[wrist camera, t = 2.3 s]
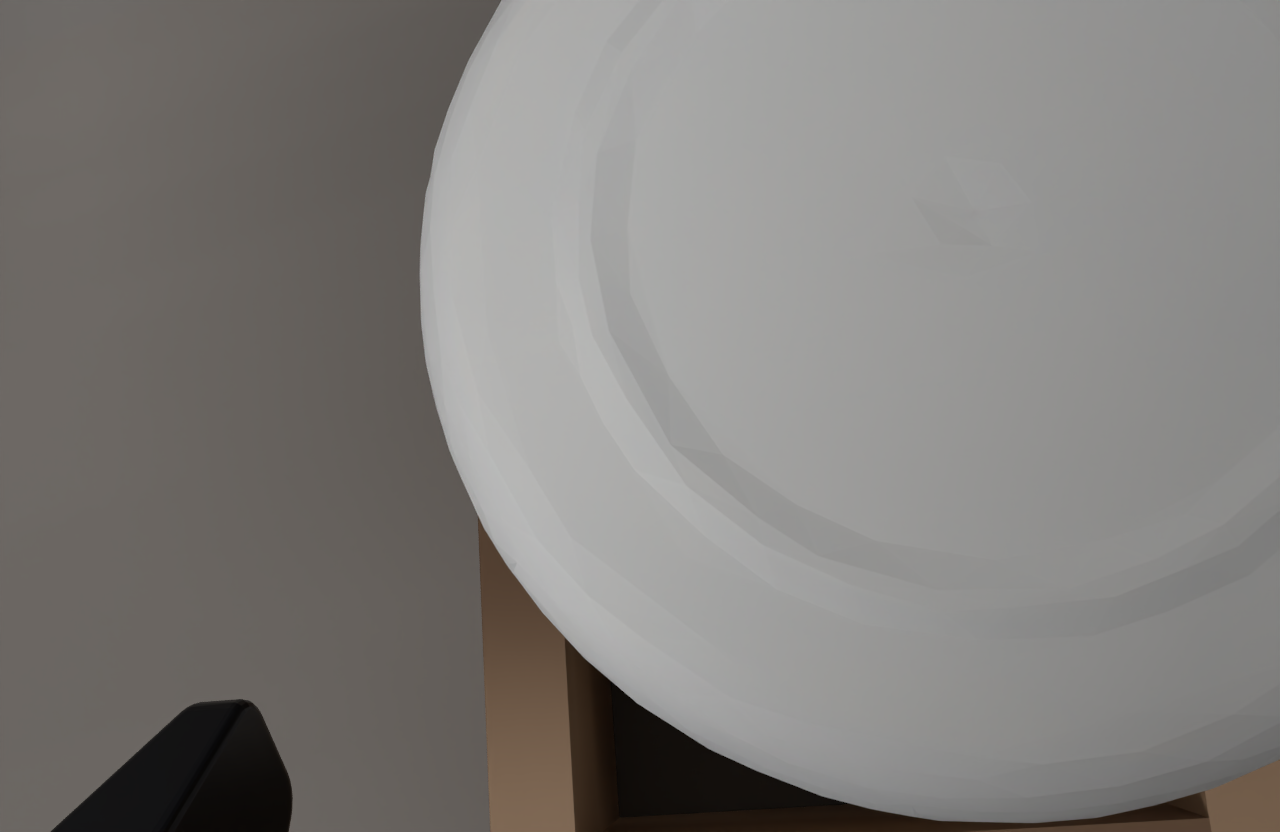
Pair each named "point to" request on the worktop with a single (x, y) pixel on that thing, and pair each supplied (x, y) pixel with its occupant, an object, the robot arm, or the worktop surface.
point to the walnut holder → (591, 828)
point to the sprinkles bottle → (884, 380)
